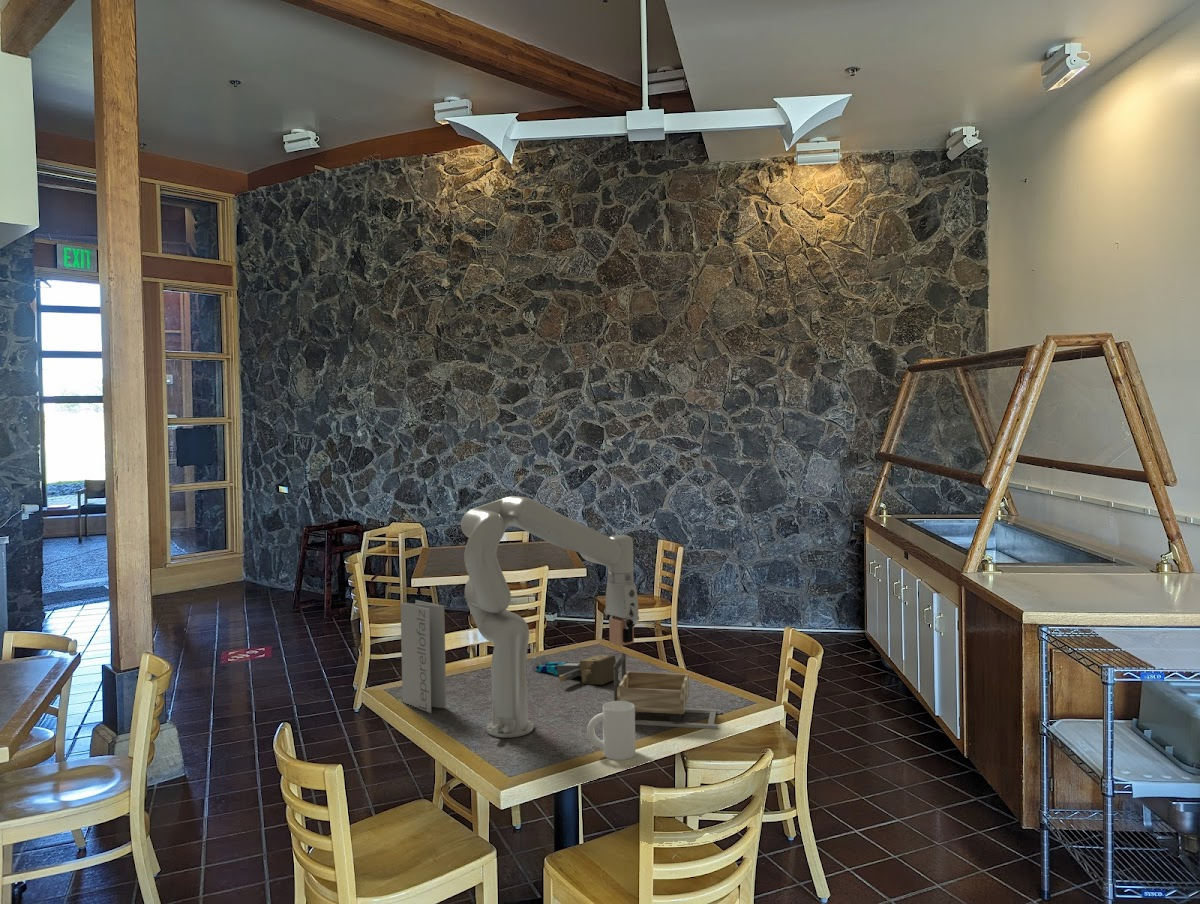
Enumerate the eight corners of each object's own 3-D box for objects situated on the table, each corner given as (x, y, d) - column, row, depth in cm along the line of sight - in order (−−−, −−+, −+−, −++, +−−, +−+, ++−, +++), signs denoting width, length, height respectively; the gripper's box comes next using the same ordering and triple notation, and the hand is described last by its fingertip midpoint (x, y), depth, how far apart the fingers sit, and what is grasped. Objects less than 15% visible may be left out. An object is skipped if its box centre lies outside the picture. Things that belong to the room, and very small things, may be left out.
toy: (562, 647, 289) (630, 648, 271) (565, 669, 288) (634, 671, 270) (510, 665, 268) (581, 666, 250) (513, 688, 267) (584, 691, 249)
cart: (683, 724, 219) (682, 669, 219) (612, 721, 223) (611, 666, 222) (689, 705, 235) (688, 653, 234) (622, 702, 238) (621, 651, 238)
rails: (717, 729, 218) (717, 726, 218) (622, 723, 224) (622, 720, 223) (720, 712, 231) (720, 709, 231) (629, 707, 237) (629, 704, 237)
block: (620, 645, 235) (620, 621, 235) (609, 642, 239) (609, 618, 239) (633, 642, 238) (633, 619, 238) (622, 639, 242) (622, 616, 242)
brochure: (402, 702, 244) (400, 602, 244) (418, 698, 248) (416, 599, 248) (430, 713, 235) (428, 609, 234) (446, 708, 239) (444, 606, 238)
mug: (586, 748, 206) (586, 701, 206) (633, 746, 207) (633, 699, 207) (587, 761, 198) (587, 712, 198) (636, 759, 199) (636, 710, 198)
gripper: (649, 580, 234) (650, 643, 234) (611, 572, 247) (612, 632, 247) (629, 583, 229) (630, 648, 229) (592, 575, 242) (593, 636, 243)
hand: (621, 639), depth 238 cm, fingers closed on block, 5 cm apart
